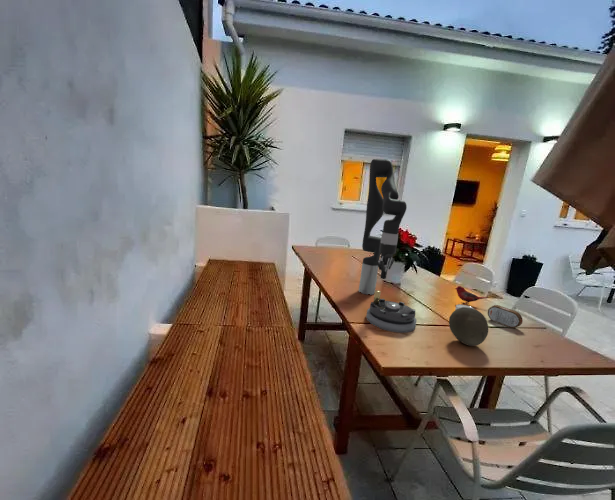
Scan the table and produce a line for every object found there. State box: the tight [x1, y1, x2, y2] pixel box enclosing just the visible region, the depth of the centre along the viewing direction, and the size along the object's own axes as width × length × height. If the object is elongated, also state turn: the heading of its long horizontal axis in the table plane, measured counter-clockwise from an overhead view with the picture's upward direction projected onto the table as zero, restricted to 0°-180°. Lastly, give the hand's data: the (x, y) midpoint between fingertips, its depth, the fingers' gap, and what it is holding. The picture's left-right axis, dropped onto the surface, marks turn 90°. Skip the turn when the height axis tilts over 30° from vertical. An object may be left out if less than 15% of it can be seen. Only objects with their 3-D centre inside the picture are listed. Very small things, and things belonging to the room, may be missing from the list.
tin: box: [487, 304, 524, 329], centre depth 152 cm, size 15×3×8 cm, turn 36°
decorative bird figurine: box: [454, 285, 489, 305], centre depth 176 cm, size 3×18×10 cm, turn 71°
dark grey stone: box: [448, 307, 489, 347], centre depth 125 cm, size 14×14×15 cm
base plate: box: [365, 307, 417, 333], centre depth 141 cm, size 22×22×3 cm
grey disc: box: [369, 289, 416, 324], centre depth 140 cm, size 20×20×9 cm
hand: (383, 278), depth 146 cm, fingers closed
